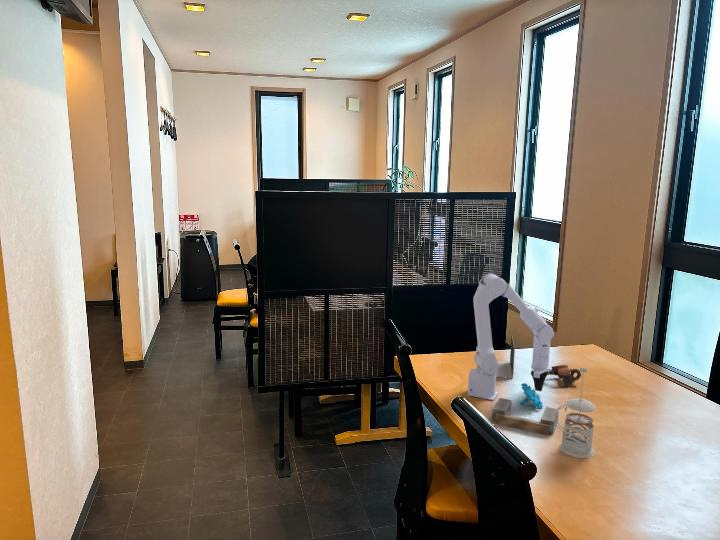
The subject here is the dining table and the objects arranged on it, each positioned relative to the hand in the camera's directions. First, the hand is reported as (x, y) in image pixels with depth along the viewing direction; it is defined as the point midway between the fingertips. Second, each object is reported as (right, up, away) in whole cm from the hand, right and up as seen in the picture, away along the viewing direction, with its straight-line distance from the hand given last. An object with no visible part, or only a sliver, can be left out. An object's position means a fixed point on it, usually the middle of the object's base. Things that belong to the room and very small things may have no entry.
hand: (538, 390), depth 191 cm
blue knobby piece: (-6, -3, -9) cm, 11 cm away
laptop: (-9, +2, +25) cm, 27 cm away
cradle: (-12, -5, -22) cm, 25 cm away
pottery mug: (+14, 0, +11) cm, 17 cm away
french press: (-3, -8, -39) cm, 40 cm away
